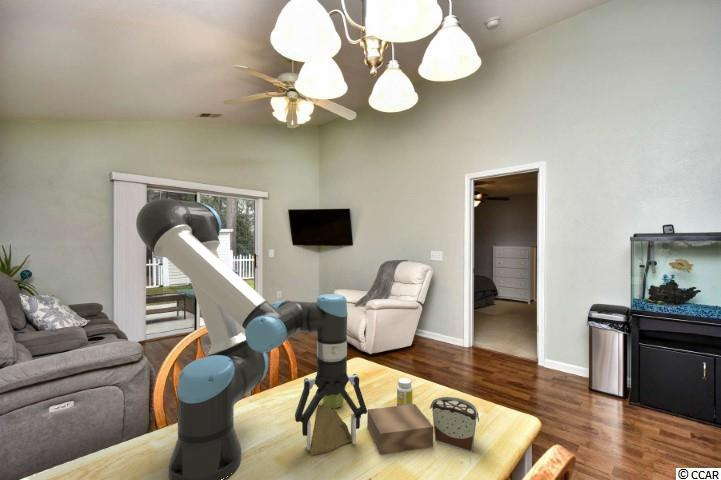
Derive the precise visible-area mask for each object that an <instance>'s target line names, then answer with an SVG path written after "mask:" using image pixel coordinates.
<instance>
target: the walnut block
mask: <svg viewBox="0 0 721 480" xmlns="http://www.w3.org/2000/svg"><path fill="white" fill-rule="evenodd" d="M366 420H367V425H366V426H367V430H368V431H369V434H370V436H371V439H372V440H373V442H374V445H375V446H376V449H377V451H378V453H379V455H386V454H390V453H391V454H392V453H395V452H396V453H397V452H403V451H410V450H417V449H424V448H431V447H434V424H432V423H431V422H430V421H429V419H428V418H427V416H425V415H424V413H423V412H422V411H421V409H420V408H419V407H418V405H416V404H415V403H412V404H410V405H401V406H397V405H395V406H387V407H378V408H369V409H367V419H366Z"/></svg>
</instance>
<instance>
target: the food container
mask: <svg viewBox="0 0 721 480" xmlns="http://www.w3.org/2000/svg"><path fill="white" fill-rule="evenodd" d="M429 406H430V407H429V409H430V410H431V409H432V411H431V412H432V421H433V435H434V442H438V443H440V444H444V445H446V446H450V447H453V448H456V449H458V450H459V449H460V450H462V451H466V452H468V453H471V454H472V453H473V450H474V443H475V433H476V428H477V425H476V424H477V423H479V422H480V416H479V412H478V409H477V407H476V406H475V405H474V404H473V403H471V402H470V401H468V400H466V399H463V398H459V397H453V396H442V397H441V396H440V397H437V398H435V399H432V401H431V403H430V405H429Z"/></svg>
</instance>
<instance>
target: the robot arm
mask: <svg viewBox="0 0 721 480" xmlns="http://www.w3.org/2000/svg"><path fill="white" fill-rule="evenodd" d="M135 223H136V225H135V227H136V231H137V234H138V236H139V238H140V240H141V241H142V242H143V243H144V245H145V246H146V247H147V248H148V249H149V250H150V251H151V252H152V253H153V254H155V256H157V257H158V258H166V260H168V261H169V262H170V263H171V264H173V266H175V267H176V268H177V270H179V271H180V272H181V273H182V274H183V275H185V277H187V278H188V279H189V281H190V284H191V287H192V290H193V292H194V296H195V299H196V301H197V305H198V308H199V311H200V314H201V316H202V319H203V323H204V326H205V328H206V332H207V335H208V338H209V341H210V343H211V344H210V348H209V350H208V353H207V355H208V356H204V357H201V358H197V359H195V360H193V361H191V362H189V363H188V364H186V365H185V366H184V367H183V368H182V369H181V371H180V373H179V374H178V379H177V381H178V382H177V387H176V396H177V439H176V442H175V446H174V449H173V452H172V455H171V458H170V461H169V465H168V479H169V478H170V480H221V479H223V478H226V477H227V476H229V475H230V474H231V473H233V472H234V471H235V470H236V469H237V470H238V469H239V467H240V465H241V463H242V447H241V443H240V441H239V438H238V435H237V432H236V430H235V426H234V421H235V420H234V418H235V417H234V416H235V415H234V410H235V409H234V408H235V407H234V406H235V404H237V403H238V402H239V401H241V400H242V398H245V396H246V395H248V394H249V392H251V391H252V390H254V389H256V388H257V387H258V386H259V384H260V383H261V382H262V380H264V378H265V376H266V375H267V372H268V368H269V358H268V357H269V356H268V354H267V353H268V352H271V351H273V350H275V349H277V348H278V347H280V346H282V345H283V344H284V343H285V342H286V341H287V340H289V339H291V337H293V336H294V335H296V334H298V333H309V334H310V333H312V334H313V333H316V356H317V359H316V375H315V378H312V379H309V378H307V377H305V378H304V379H303V389H302V392H301V395H300V398H299V402H298V405H297V407H296V410H295V413H294V419H295V422H296V423H299V422H300V423H301V425H302V426H301V427H302V428H301V432H302V436H303V437H304V436H305V437H306V450H307V451H311V440H312V435H311V434H312V433H311V431H312V429H311V427H312V423H311V418H312V416H313V414H314V412H315V411H316V409H317V408H318V405H320V402H321V401H323V397H324V396H325V395H326V396H330V395H338V394H339V393H341V395H342V396H343V398H344V401H345V402H346V403H347V405H348V407H349V408H350V409H351V411H352V412H351V413H350V435H351V440H352V441H351V442H352V445H356V444H357V430H360V428H361V418H362V415H366V414H368V409H367V405H366V403H365V401H364V397H363V393H362V391H361V387H360V378H359V376H358V374H357V373H354V374H352V375H348V376H347V374H348V372H347V371H348V367H347V366H348V359H347V355H348V343H347V342H348V315H349V313H348V305H347V304H348V302H347V301H348V300H347V298H346V297H345V296H344V295H342V294H338V293H337V294H336V293H332V294H331V293H330V294H329V293H326V294H325V293H324V294H320V295H319V296H318V297H317V298H316V299H317V300H316V301H314V302H311V301H310V302H308V301H296V300H295V301H294V300H293V301H292V300H288V299H287V300H278V301H275V302H273V304H271V303H270V302H269V301H268V300H266V299H265V298H264V297H263V296H262V295H260V293H258V292H257V291H256V290H255V289H254V288H253V287H252V286H251V285H249V283H247V282H246V281H245V280H243V278H242V277H240V276H239V275H238V274H237V273H236V272H235V271H234V270H232V268H231V267H229V266H228V265H227V264H226V263H225V262H224V261H222V260H221V258H220V257H219V254H218V251H217V249H218V247H219V246H220V244H221V240H220V239H219V237H220V234H221V230H222V220H221V216H220V215H219V213H217V211H216V210H215V209H214V208H213V207H211V206H210V205H207V204H205V203H202V202H199V201H187V200H180V199H173V198H167V197H163V198H155V199H153V200H151V201H149V202H147V203H146V204H144V205H143V206H142V207H141V208H140V210H139V212H138V213H137V216H136V220H135ZM349 382H350V384H351V386H353V389H354V390H353V391H354V392H355V395H356V398H357V402H358V404H359V407H357V405H356V404H355V402H354V400H353V399H352V398H351V396H350V395H349V393H348V391H347V390H346V388H344V387H345V386H346V387H347V384H348V383H349ZM313 386H316V387H317V390H316V391H315V394H314V396H313V397H312V400H310V402H309V404H308V406H307V407H306V405H307V401H308V399H309V395H310V390H312V389H313V388H314V387H313ZM305 408H306V409H305ZM304 410H305V411H304ZM238 466H239V467H238ZM237 470H236V471H237ZM236 471H235V472H236ZM235 472H234V473H235ZM234 473H233V474H234ZM230 476H231V475H230ZM230 476H229V477H230ZM226 479H227V478H226Z"/></svg>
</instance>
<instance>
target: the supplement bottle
mask: <svg viewBox="0 0 721 480" xmlns="http://www.w3.org/2000/svg"><path fill="white" fill-rule="evenodd" d="M397 382H398V383H397V387H396V406H401V405H410V404H413V387H412V380H411V379H410V378H409V377H408V378H407V377H401V378H399V379H398V381H397Z"/></svg>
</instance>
